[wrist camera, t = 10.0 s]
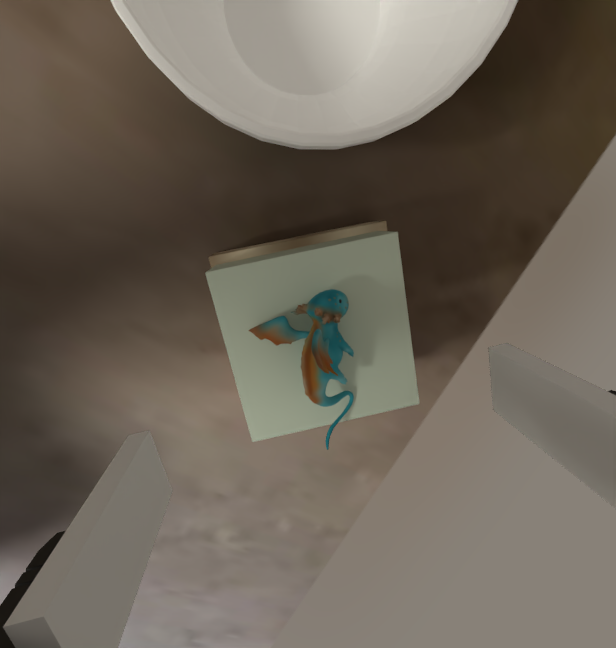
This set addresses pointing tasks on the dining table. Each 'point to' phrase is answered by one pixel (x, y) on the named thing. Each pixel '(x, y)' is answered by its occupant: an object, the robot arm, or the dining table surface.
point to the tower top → (285, 359)
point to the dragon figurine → (316, 346)
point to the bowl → (317, 60)
